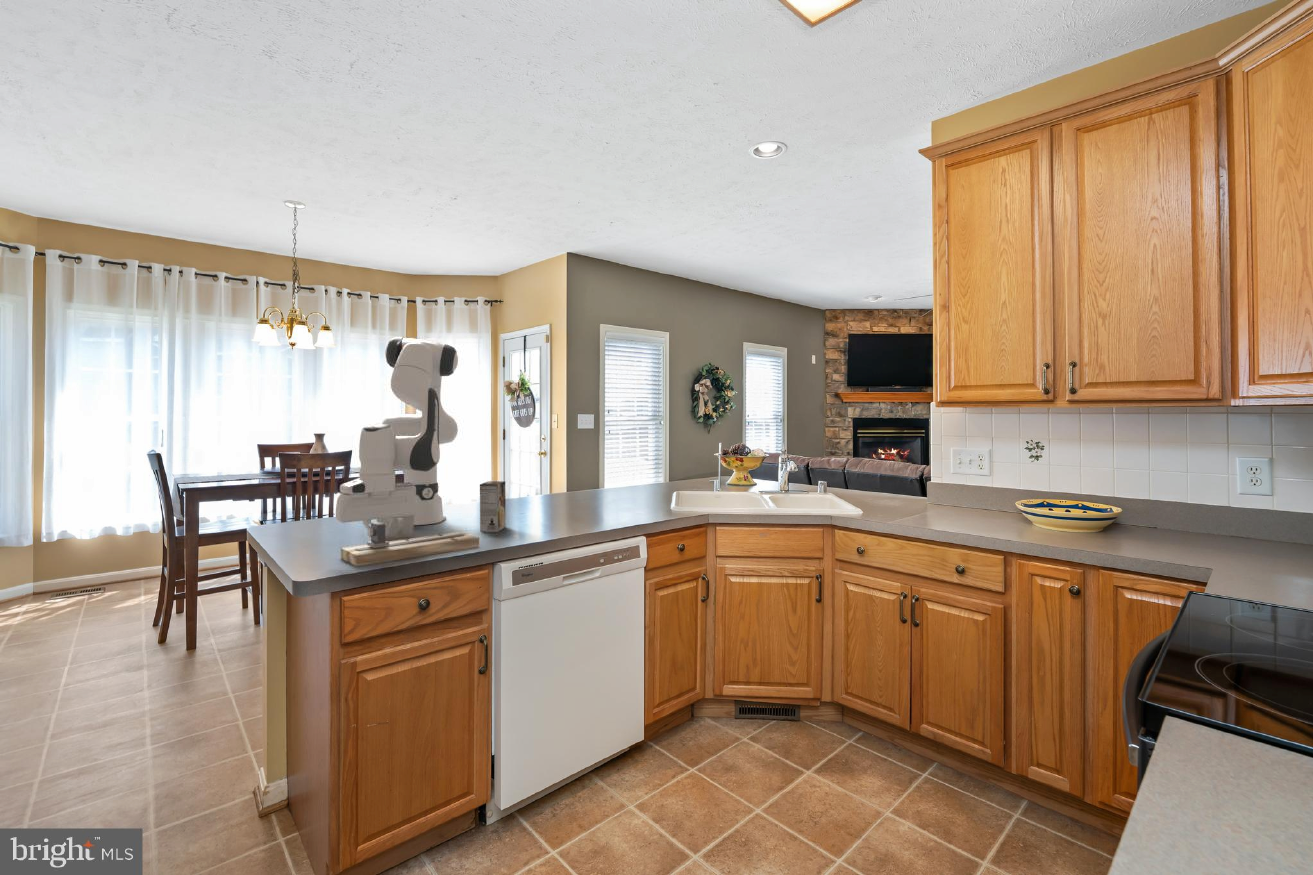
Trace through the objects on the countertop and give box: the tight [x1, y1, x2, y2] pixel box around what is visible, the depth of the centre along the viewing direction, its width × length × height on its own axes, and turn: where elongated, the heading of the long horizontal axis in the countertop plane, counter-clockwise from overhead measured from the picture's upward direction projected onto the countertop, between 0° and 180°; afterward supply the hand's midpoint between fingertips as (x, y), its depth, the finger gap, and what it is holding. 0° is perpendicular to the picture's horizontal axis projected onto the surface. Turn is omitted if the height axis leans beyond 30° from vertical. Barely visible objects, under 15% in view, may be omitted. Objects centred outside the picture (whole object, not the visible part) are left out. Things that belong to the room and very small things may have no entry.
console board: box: [340, 531, 480, 567], centre depth 170 cm, size 12×34×3 cm, turn 135°
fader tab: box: [366, 521, 389, 548], centre depth 163 cm, size 5×4×6 cm
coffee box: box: [479, 480, 507, 533], centre depth 205 cm, size 9×6×16 cm
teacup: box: [376, 515, 415, 542], centre depth 186 cm, size 14×11×8 cm
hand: (378, 535), depth 163 cm, fingers closed on fader tab, 2 cm apart
